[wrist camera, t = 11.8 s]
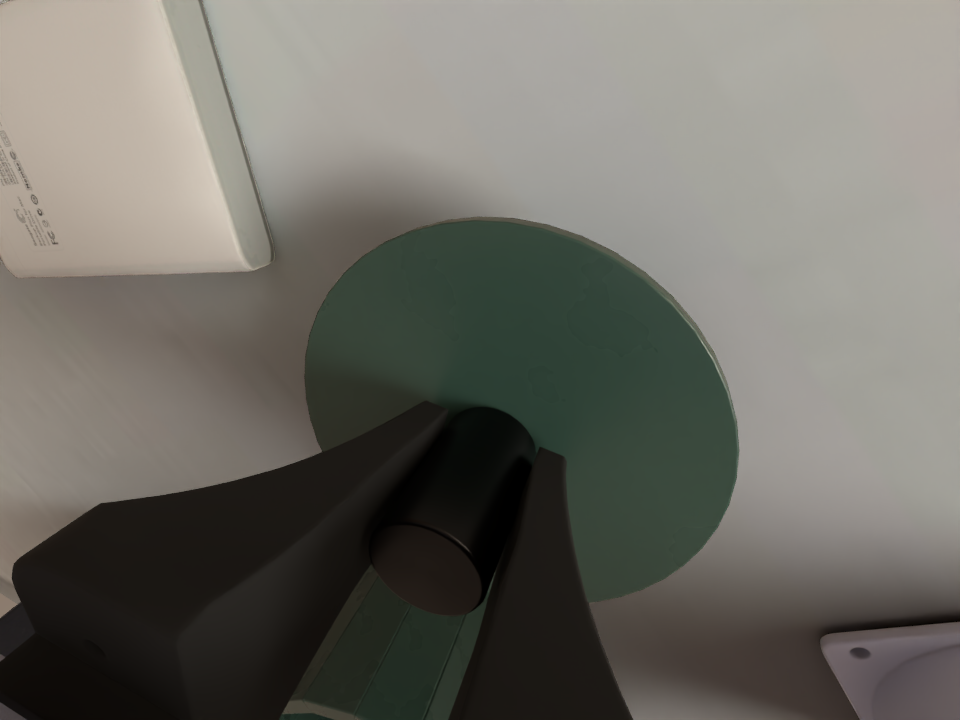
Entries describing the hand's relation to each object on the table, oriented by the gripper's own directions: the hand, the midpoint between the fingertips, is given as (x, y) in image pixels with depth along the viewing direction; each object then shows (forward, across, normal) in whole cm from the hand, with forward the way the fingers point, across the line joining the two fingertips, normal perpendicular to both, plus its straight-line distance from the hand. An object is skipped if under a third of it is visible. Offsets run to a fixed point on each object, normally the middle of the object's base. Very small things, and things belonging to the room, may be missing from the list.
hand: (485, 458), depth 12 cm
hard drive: (+4, +16, -3) cm, 17 cm away
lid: (+1, 0, 0) cm, 1 cm away
